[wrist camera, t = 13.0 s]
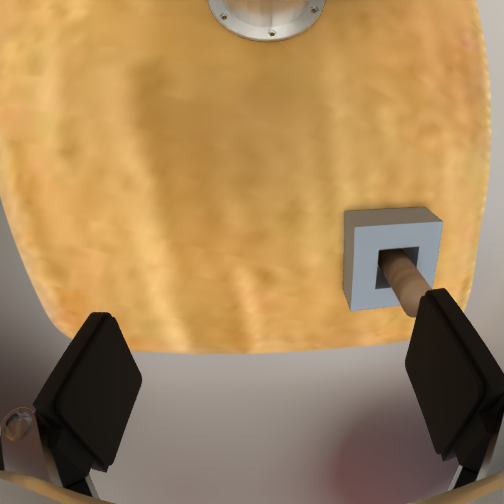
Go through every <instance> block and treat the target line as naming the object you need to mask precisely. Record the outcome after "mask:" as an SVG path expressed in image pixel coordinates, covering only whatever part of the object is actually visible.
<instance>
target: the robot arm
mask: <svg viewBox="0 0 504 504" xmlns="http://www.w3.org/2000/svg"><path fill="white" fill-rule="evenodd" d="M324 3H325V0H208V4H209V8H210V9H211V11H212V13H213V15H214V17H215V18H216V19H217V21H218V22H219V23H220V24H221V25H222V26H223V27H224V28H226V29H227V30H229V31H230V32H232V33H233V34H236V35H238V36H240V37H242V38H246V39H249V40H253V41H262V42H273V41H280V40H286V39H289V38H292V37H294V36H297V35H299V34H301V33H302V32H304V31H306V30H307V29H308V28H309V27H310V26H312V25H313V24H314V22H315V21H316V20H317V19H318V17H319V16H320V14H321V12H322V10H323V7H324ZM311 10H315V11H316V12H315V13H313V12H312V11H311ZM223 17H227V19H225V20H223ZM271 33H274V34H275V36H273V37H271V36H270V34H271ZM405 367H406V371H407V373H408V376H409V378H410V381H411V384H412V386H413V389H414V392H415V394H416V397H417V399H418V402H419V405H420V408H421V410H422V413H423V416H424V419H425V422H426V425H427V428H428V430H429V434H430V437H431V440H432V442H433V446H434V448H435V451H436V453H437V454H441V456H442V459H443V461H446V460H449V459H452V458H455V457H457V459H458V462H459V467H458V470H457V472H456V474H455V476H454V478H453V481H452V483H451V485H450V487H449V489H448V491H447V492H445V493H442V494H439V495H435V496H432V497H429V498H426V499H422V500H418V501H415V502H412V503H408V504H504V373H503V372H502V370H501V368H500V367H499V365H498V364H497V362H496V360H495V359H494V357H493V356H492V354H491V352H490V351H489V349H488V348H487V346H486V345H485V343H484V342H483V340H482V339H481V337H480V336H479V334H478V333H477V331H476V330H475V328H474V327H473V326H472V324H471V323H470V321H469V320H468V319H467V317H466V316H465V314H464V313H463V311H462V310H461V309H460V307H459V306H458V305H457V303H456V302H455V301H454V299H453V298H452V297H451V295H450V294H449V293H448V291H447V290H446V289H445V288H440V289H433V290H428V291H426V293H425V296H422V297H421V298H420V302H419V307H418V311H417V316H416V320H415V324H414V328H413V332H412V336H411V340H410V344H409V348H408V352H407V355H406V359H405ZM141 383H142V376H141V373H140V371H139V369H138V367H137V365H136V363H135V361H134V359H133V357H132V355H131V352H130V350H129V348H128V346H127V344H126V341H125V339H124V337H123V334H122V332H121V330H120V328H119V325H118V323H117V321H116V319H115V318H114V317H112V316H111V314H110V313H107V312H93V313H91V314H90V315H89V317H88V318H87V319H86V321H85V322H84V324H83V325H82V327H81V328H80V330H79V331H78V333H77V334H76V336H75V337H74V339H73V340H72V342H71V343H70V345H69V346H68V348H67V349H66V351H65V352H64V354H63V356H62V357H61V359H60V360H59V362H58V363H57V365H56V366H55V368H54V370H53V371H52V373H51V375H50V376H49V378H48V380H47V381H46V383H45V384H44V386H43V388H42V389H41V391H40V393H39V395H38V396H37V398H36V400H35V401H34V403H33V406H34V407H35V408H36V412H35V413H33V412H32V411H31V410H30V409H28V408H18V409H15V410H13V411H12V412H10V413H9V414H8V415H7V416H6V417H5V419H4V420H3V422H2V425H1V431H0V434H1V435H0V504H114V503H110V502H107V501H103V500H100V498H99V496H98V493H97V491H96V489H95V487H94V484H93V482H92V480H91V477H90V475H89V472H90V469H91V468H92V469H94V470H98V471H102V472H107V469H108V466H110V465H112V464H113V462H114V460H115V457H116V454H117V451H118V448H119V445H120V442H121V439H122V436H123V433H124V430H125V427H126V424H127V422H128V419H129V417H130V414H131V411H132V408H133V405H134V403H135V400H136V397H137V395H138V392H139V389H140V387H141Z"/></svg>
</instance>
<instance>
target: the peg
mask: <svg viewBox="0 0 504 504" xmlns="http://www.w3.org/2000/svg"><path fill="white" fill-rule="evenodd" d="M378 266H379V267H380V269H381V271H382V272H383V274H384V276H385V278H386V279H387V281H388V283H389V284H390V286H391V288H392V290H393V292H394V293H395V295H396V297H397V299H398V300H399V302H400V304H401V306H402V308H403V310H404V311H405V313H406V314H407V315H408V316H410V317H416V316H417V311H418V307H419V302H420V298H421V297H422V296H425V293H426V291H428V290H432V288H431V287H430V286H429V284H428V283H427V281H426V280H425V279H424V277H423V276H422V275H421V273H420V272H419V271H418V269H417V268H416V267H415V265H414V264H413V263H412V262H411V260H410V259H409V258H408V256H407V255H406V254H405V252H404V251H403V250H402V249H401V248H395V249H383V250H379V252H378Z"/></svg>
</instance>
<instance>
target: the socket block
mask: <svg viewBox="0 0 504 504" xmlns="http://www.w3.org/2000/svg"><path fill="white" fill-rule="evenodd" d="M442 226H443V221H442V220H441V219H439V218H438V217H437V216H436V215H435V214H433V213H432V212H431V211H430V210H428V209H427V208H426V207H412V208H392V209H374V210H357V211H344V270H343V291H344V294H345V297H346V300H347V303H348V306H349V309H350V311H359V310H368V309H376V308H384V307H392V306H400V305H401V304H400V302H399V300H398V299H397V297H396V295H395V293H394V292H393V290H392V288H391V286H390V284H389V283H388V281H387V279H386V278H385V276H384V274H383V272H382V271H381V269H380V267H377V264H378V252H379V250H383V249H395V248H402V250H403V251H404V252H405V254H406V255H407V256H408V258H409V259H410V260H411V262H412V263H413V264H414V265H415V267H416V268H417V269H418V271H419V272H420V273H421V275H422V276H423V277H424V279H425V280H426V281H427V283H428V284H429V286H430V287H431V288H432V287H433V282H434V277H435V272H436V266H437V260H438V254H439V248H440V241H441V234H442Z"/></svg>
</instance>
